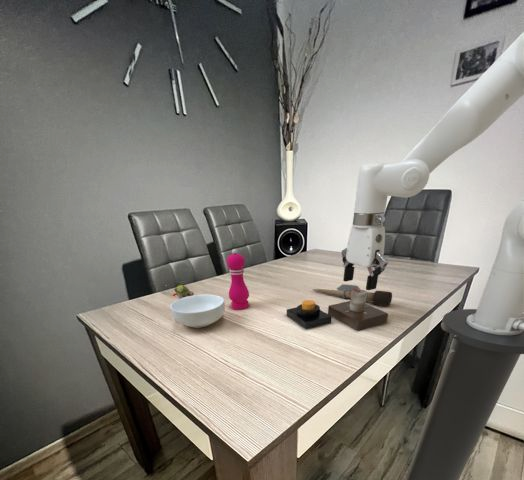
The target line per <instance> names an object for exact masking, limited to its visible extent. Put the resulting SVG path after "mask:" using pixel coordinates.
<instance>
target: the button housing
mask: <svg viewBox="0 0 524 480" xmlns="http://www.w3.org/2000/svg"><path fill="white" fill-rule="evenodd" d="M286 317H288V318H289V319H290V320H292V321H293V322H295V323H296V324H298V325H299V326H300V327H302V328H303V329H305V330H309V329H313V328H317V327H321V326H324V325H328V324H332V318H333V317H332V316H330V315H328V313H327V312H325V311H323V310H321V307H320V305H318V304H316V303H315V309H314V310H303V309H302V303H301V304H298V305H297V307H292V308H286Z"/></svg>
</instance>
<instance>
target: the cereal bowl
mask: <svg viewBox="0 0 524 480" xmlns="http://www.w3.org/2000/svg"><path fill="white" fill-rule="evenodd" d="M169 308H170V313H171V316H172V317H173V319H174V321H176V322H177V323H179V324H180V325H183V326H185V327H190V328H194V329H201V328H206V327H208V326H211V325H212V324H214V323H216V322H217V321H219V320H220V319H221V318H222V317H223V315H224V313H225V309H226V303H225V299H224V298H223V297H222V296H220V295H216V294H212V293H211V294H207V293H206V294H205V293H203V294H194V295H193V296H188V297H184V298H181V299H180V298H178V299H176V300H174V301H172V302H171V303H170V305H169Z"/></svg>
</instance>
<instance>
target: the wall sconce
mask: <svg viewBox="0 0 524 480" xmlns="http://www.w3.org/2000/svg"><path fill="white" fill-rule="evenodd" d="M354 289H357V290H362V289H361V288H360V286H358V285H356V284H343V283H342V284H341V285H339V286H338V287H337V288H336V289H327V288H326V289H325V288H313V289H311V290H312V291H314V292H317V293H323V294H326V295H327V294H328V295H333V296H339V297H342V299H346V298H348V299H351V292H352V291H353V290H354ZM392 301H393V293H392V292H391V291H387V290H386V291H385V290H375V291H374V292H372V291H371V292H370V291H367V297H366V302H372V304H373V305H374V306H375V305H376V306H383V307H389V306H390V305H391V303H392Z"/></svg>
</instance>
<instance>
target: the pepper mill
mask: <svg viewBox="0 0 524 480" xmlns="http://www.w3.org/2000/svg"><path fill="white" fill-rule="evenodd" d="M245 263H246V261H245V257H244V256H243V255H241V254H240V253H238V250H237V248H233V249H232V250H231V254H229V255H228V257H227V258H226V266H227V267H228V268H229V269H228V271H229V275H230V277H231V278H230V279H231V282H230V286H229V290H228V299H229V300H230V301H231V302H230V305H231V309H233V310H245V309H247V308H249V306H250V305H249V304H250V303H249V300H248V299H249V297H250V291H249V289H248V287H247V284H246V283H245V280H244V273H245V271H244V270H245V269H244V268H245V267H244V266H245V265H246V264H245Z"/></svg>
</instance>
